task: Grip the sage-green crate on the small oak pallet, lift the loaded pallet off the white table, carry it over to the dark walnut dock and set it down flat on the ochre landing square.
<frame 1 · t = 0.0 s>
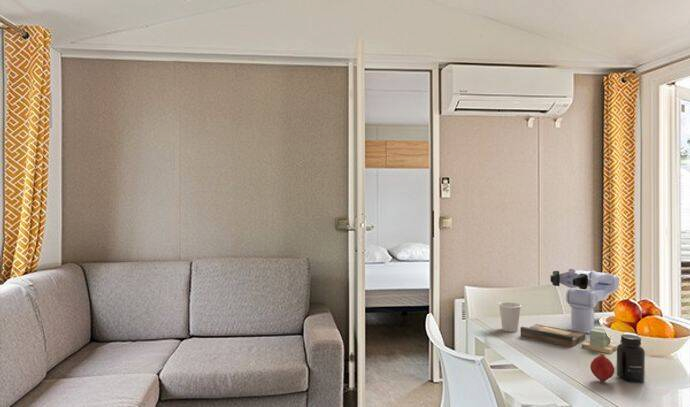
hand: (562, 280, 166), 22 cm above the table, tool horizontal, fingers open, 7 cm apart
loaded pallet: (600, 348, 158), on the table
dock: (552, 337, 170), on the table
supplement bottle: (630, 379, 131), on the table
supplement bottle 2: (630, 365, 142), on the table
onion: (602, 382, 129), on the table
dixie cup: (509, 330, 181), on the table
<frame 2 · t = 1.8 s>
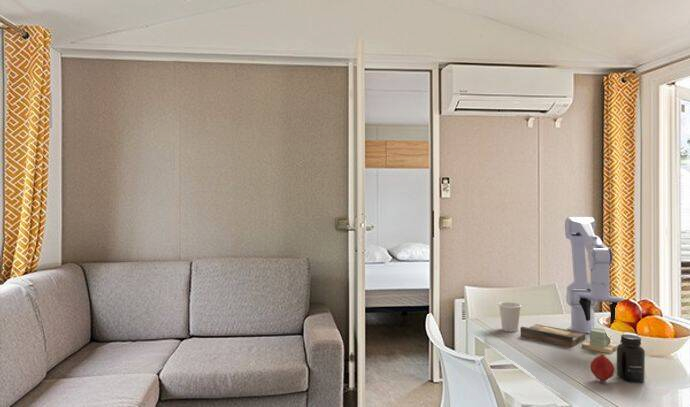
hand: (600, 322, 158), 9 cm above the table, tool pointing down, fingers open, 7 cm apart
nothing on the table moved.
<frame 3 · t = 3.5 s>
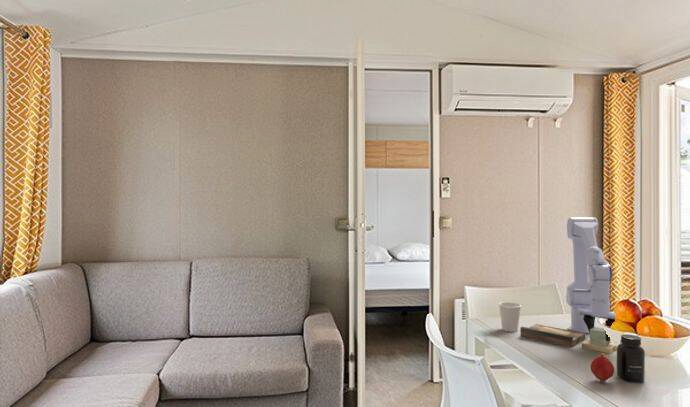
hand: (600, 339, 158), 3 cm above the table, tool pointing down, fingers closed on loaded pallet, 4 cm apart
loaded pallet: (600, 347, 158), on the table, touching gripper
everything else where it was.
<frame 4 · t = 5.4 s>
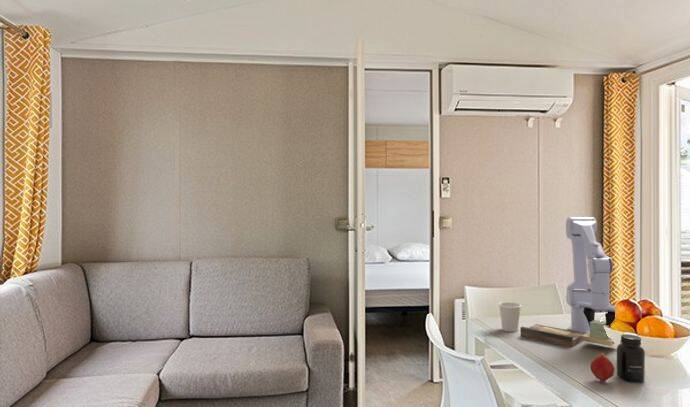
hand: (600, 331, 158), 5 cm above the table, tool pointing down, fingers closed on loaded pallet, 4 cm apart
loaded pallet: (600, 340, 158), point 2 cm above the table, touching gripper
everything else where it was.
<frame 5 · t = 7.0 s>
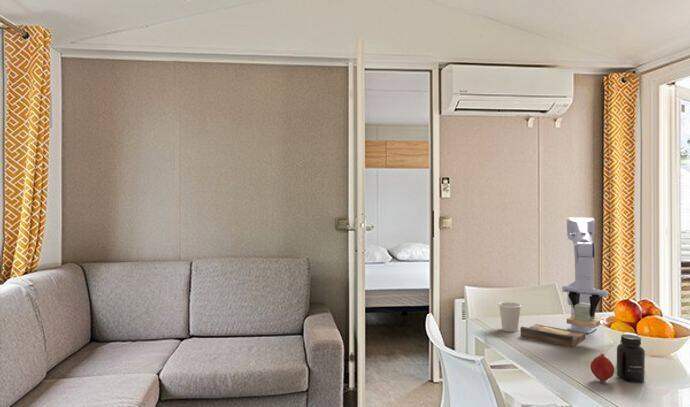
hand: (584, 314, 162), 10 cm above the table, tool pointing down, fingers closed on loaded pallet, 4 cm apart
loaded pallet: (584, 323, 162), point 7 cm above the table, touching gripper
everything else where it was.
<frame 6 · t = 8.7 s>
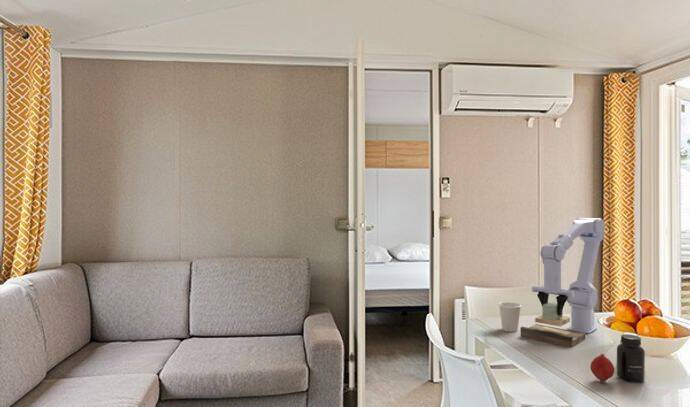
hand: (552, 313, 170), 9 cm above the table, tool pointing down, fingers closed on loaded pallet, 4 cm apart
loaded pallet: (552, 321, 170), point 6 cm above the table, touching gripper
everything else where it was.
when the fingers open (6 cm above the table, at t = 10.4 s): loaded pallet stays where it is, resting on dock.
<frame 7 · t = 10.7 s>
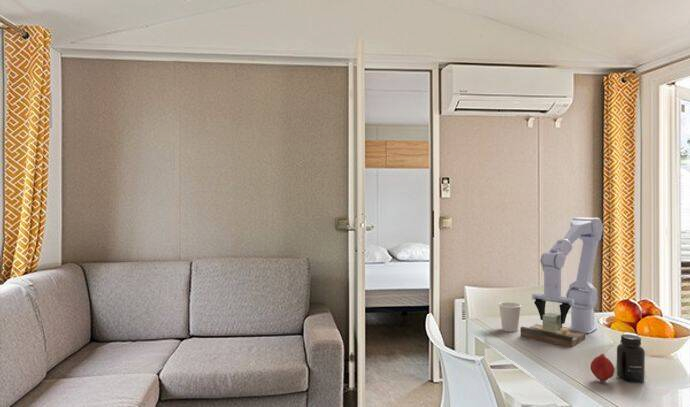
hand: (552, 321, 170), 6 cm above the table, tool pointing down, fingers open, 7 cm apart
loaded pallet: (552, 332, 170), point 2 cm above the table, touching dock
everything else where it was.
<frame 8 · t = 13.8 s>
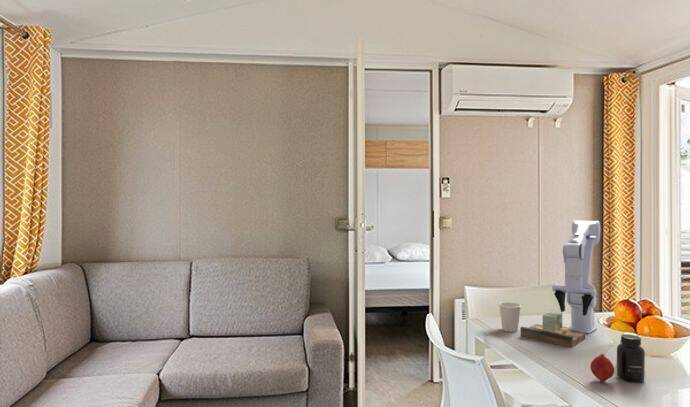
hand: (573, 313, 168), 9 cm above the table, tool pointing down, fingers open, 7 cm apart
nothing on the table moved.
at the end: loaded pallet inside the target area on the dock (0.1 cm from its centre), point 2.1 cm above the dock's base; loaded pallet tilted 0°; the gripper is holding nothing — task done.
